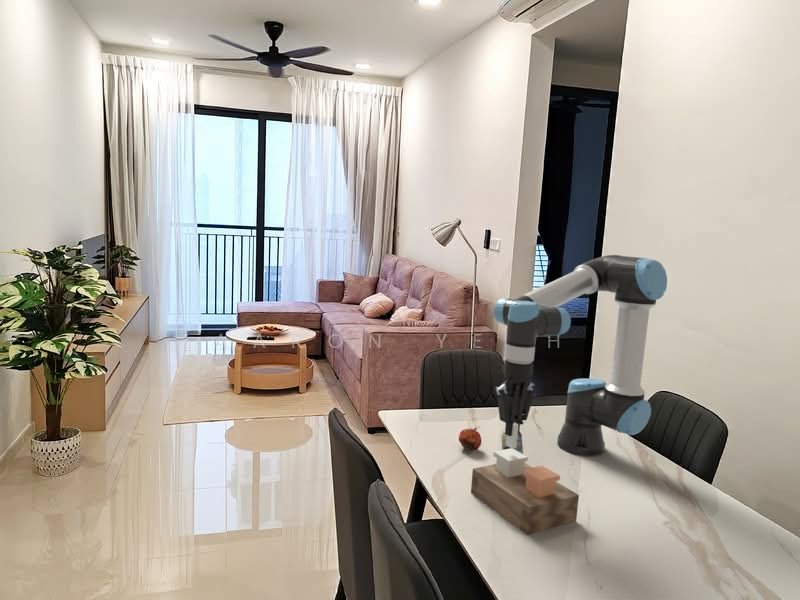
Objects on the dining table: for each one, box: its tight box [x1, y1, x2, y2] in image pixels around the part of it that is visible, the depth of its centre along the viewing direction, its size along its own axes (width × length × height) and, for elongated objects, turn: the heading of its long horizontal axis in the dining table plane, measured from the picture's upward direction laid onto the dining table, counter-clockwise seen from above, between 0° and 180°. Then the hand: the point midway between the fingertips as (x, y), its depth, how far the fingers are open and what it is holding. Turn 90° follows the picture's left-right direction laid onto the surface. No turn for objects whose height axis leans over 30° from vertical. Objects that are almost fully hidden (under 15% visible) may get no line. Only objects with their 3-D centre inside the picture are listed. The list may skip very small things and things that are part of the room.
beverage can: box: [501, 428, 524, 455], centre depth 180 cm, size 6×7×12 cm
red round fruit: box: [458, 427, 482, 454], centre depth 192 cm, size 7×7×10 cm
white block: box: [492, 448, 528, 478], centre depth 161 cm, size 6×6×8 cm
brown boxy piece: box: [470, 462, 580, 536], centre depth 157 cm, size 16×23×7 cm
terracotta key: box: [523, 465, 561, 498], centre depth 151 cm, size 6×6×8 cm
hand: (510, 446), depth 160 cm, fingers closed
